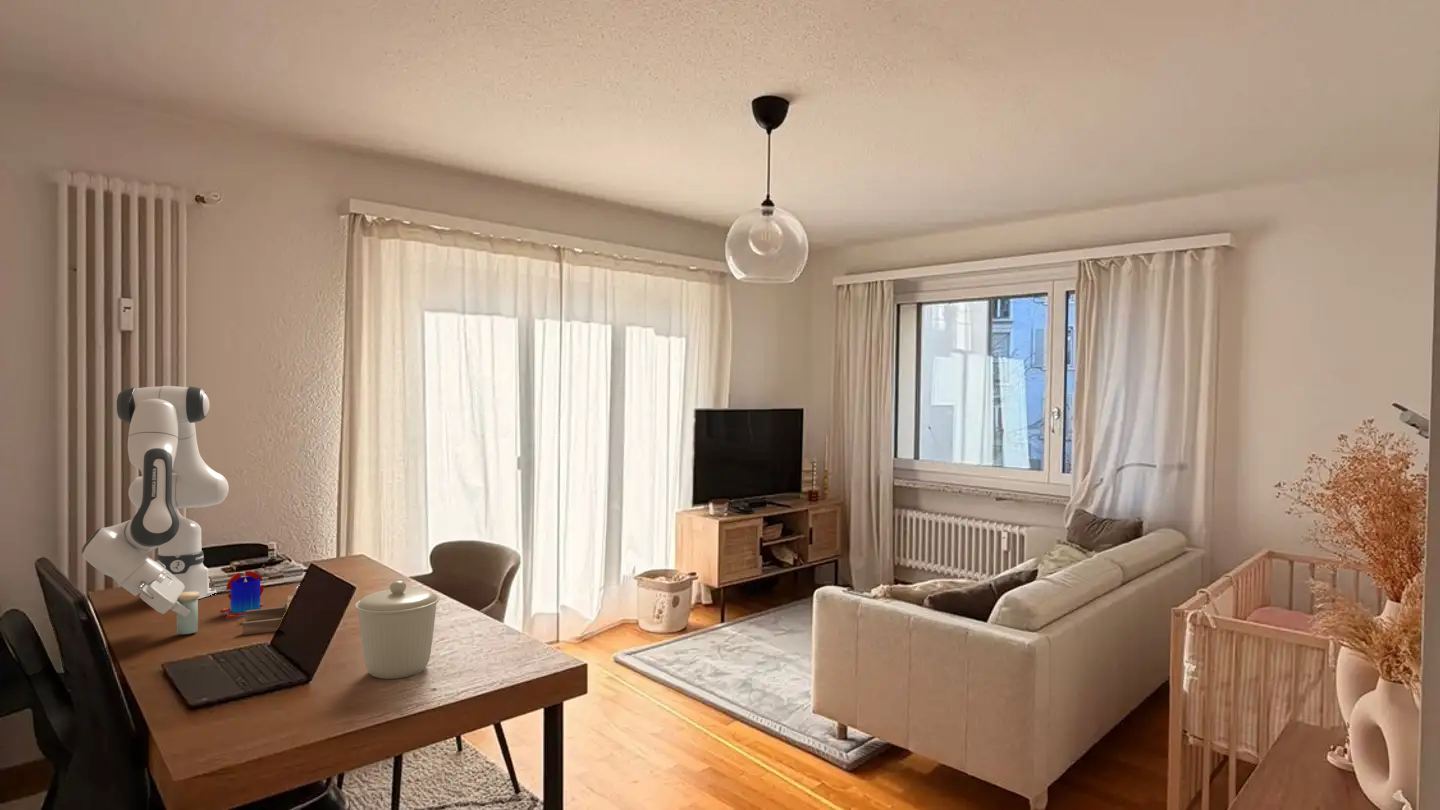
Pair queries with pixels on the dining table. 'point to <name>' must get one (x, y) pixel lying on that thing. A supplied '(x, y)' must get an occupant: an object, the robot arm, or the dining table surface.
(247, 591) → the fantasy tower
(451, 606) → the dining table surface
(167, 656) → the dining table surface
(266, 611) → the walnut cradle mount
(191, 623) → the grey-green capped cylinder
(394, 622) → the canister
